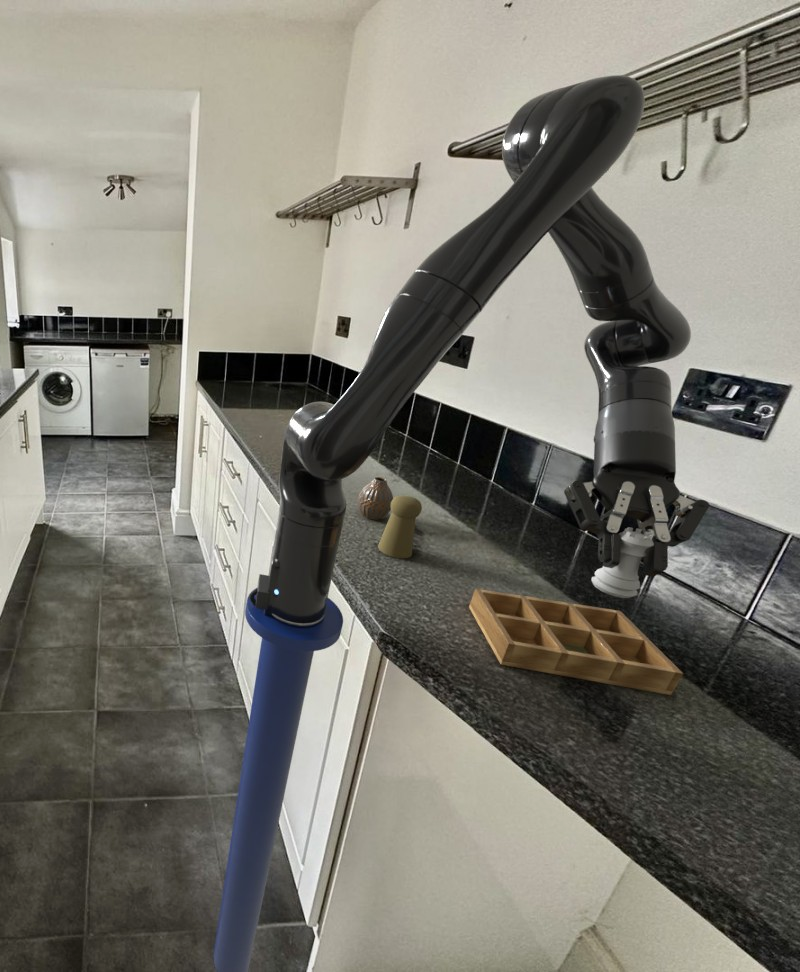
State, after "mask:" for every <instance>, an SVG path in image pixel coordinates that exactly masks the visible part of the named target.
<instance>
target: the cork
mask: <svg viewBox="0 0 800 972" xmlns="http://www.w3.org/2000/svg"><path fill="white" fill-rule="evenodd" d="M422 505H423V504H422V503H421V501H420V500H418V498H415V497H413V496H410V495H405V494H404V495H397V496H395V497H393V500H392V502H391V510H390V512H391V513H390V516H389V518H388V520H387V523H386V526H385V528H384V531H383V533H382V535H381V538H380V540H379V543H378V544H377V548H378V550H379V551H380V552H381V553H383V554H384V555H386V556H389V557H391V558H395V559H408V558H411V557H412V556H413V547H414V539H415V529H416V521H417V520H416V518H417V517H419V516H420V514H421V513H422V509H423V506H422Z"/></svg>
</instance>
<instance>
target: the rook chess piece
mask: <svg viewBox="0 0 800 972" xmlns="http://www.w3.org/2000/svg"><path fill="white" fill-rule="evenodd" d="M633 530H634V528H633V527H629V526H628V527H627V528H626V527H625V528H624V530H623V531H622V532H620V533H617V535H620V563H619V565H618V566H616V567H614V568H607V567H604V566H603V565H602V567H600V568H597V569H596V571H594V576H591V580H590V581H591V583H592V585H593V586H594V587H595V588H596V589H598V590H599V591H601V592H602V593H604V594H607V595H609V596H612V597H616V598H621V599H630V598H632V597H636V596H638V593H639V592H638V590H639V589H640V588H641V582H640V580H639V579H640V577H639V575H638V573H639V568H640V564H641V562H642V560H643V558H644V556H646V553H645V550H646V549H647V548H649V547H651V546H654V543H653V541H652V538H653V535H651V533H649V532H645V533H644V534H643V531H642V530H641V529H639V528H636V529H635V530H634V531H633Z"/></svg>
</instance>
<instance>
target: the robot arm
mask: <svg viewBox="0 0 800 972" xmlns="http://www.w3.org/2000/svg"><path fill="white" fill-rule="evenodd" d="M645 100H646V99H645V91H644V88H643V85H642V84H641V83H640V82H639V81H637V79H636V78H634V77H631V76H628V75H621V74H620V75H619V74H617V75H615V74H614V75H607V76H606V75H605V76H600V77H595V78H591V79H587V80H584V81H581V82H578V83H574V84H571V85H567V86H563V87H559V88H555V89H554V90H551V91H546V92H543V93H541V94H540V95H537V96H535V97H533V98H531V99H530V100H528V101H527V102H526V103H524V104H522V106H521V107H520V108H519V109H518V110H517V111H516V112H515V113H514V115H513V116H512V118H511V119H510V120H509V123H508V125H507V127H506V128H505V132H504V134H503V138H502V144H501V156H502V162H503V165H504V168H505V170H506V172H507V174H508V176H509V178H510V179H511V181H512V182H513V184H512V185H510V187H509V188H508V189H507V190H506V192H504V194H502V195H501V197H500V198H498V200H496V201H495V202H494V203H493V204H492V205H491V206H490V207H488V208H487V209H486V210H484V211H483V212H482V213H481V214H480V215H478V216H477V217H476V218H475V219H473V220H472V221H470V223H468V224H467V225H465V226H464V227H463V228H461V229H460V230H458V231H457V232H456V233H454V234H453V235H452V236H451V237H450V238H448V239H447V240H445V241H444V242H443V243H442V244H441V245H439V246H438V247H437V248H436V249H434V250H433V252H431V253H430V254H429V255H428V256H427V257H426V258H425V259H424V260H422V262H421V263H420V264H419V265H418V266H417V268H416V269H415V270H414V272H413V273H412V274H411V275H410V277H409V278H408V279H407V280H406V282H405V283H404V285H403V286H402V287H401V289H400V290H399V292H398V293H397V294H396V295H395V296H394V298H393V299H392V301H391V302H390V304H389V305H388V307H387V308H386V310H385V312H384V314H383V316H382V317H381V320H380V322H379V325H378V328H377V330H376V333H375V335H374V339H373V342H372V345H371V348H370V351H369V353H368V356H367V359H366V360H365V363H364V365H363V367H362V368H361V370H360V372H359V373H358V375H357V377H356V378H355V379H354V381H353V382H352V383H351V385H350V386H349V387H348V388H347V390H346V391H345V392H344V393H343V394H342V396H341V397H340V398H339V399H338V400H337V401H336V403H335V404H333V403H330V402H327V401H313V402H310V403H307V404H305V405H303V406H301V407H300V408H299V409H297V411H295V412H294V413H293V415H292V416H291V418H290V419H289V421H288V423H287V426H286V428H285V432H284V436H283V442H282V448H281V449H282V450H281V459H280V467H279V468H280V469H279V476H278V491H279V497H280V498H279V507H278V508H279V509H278V515H277V521H276V528H275V534H274V540H273V541H274V542H273V545H272V549H271V556H270V560H269V568H268V574H262V573H259V574H258V581H257V587H256V588H257V589H256V588H254V589H255V590H254V589H253V590H251V592H250V593H249V594H250V600H251V602H252V603H253V605H254V606H256V608H262V609H264V615H265V616H270V617H272V618H274V619H275V620H277V621H279V622H280V623H283V624H285V625H288V626H292V627H298V628H308V627H313V626H316V625H318V624H320V623H321V622H322V621H323V619H324V616H325V609H326V603H327V598H329V592H330V588H331V584H332V578H333V573H334V569H335V564H336V560H337V554H338V550H339V544H340V540H341V535H342V530H343V525H344V521H345V516H346V511H347V500H346V496H345V493H344V489H343V484H342V480H343V479H345V478H348V477H349V476H350V475H351V476H352V474H353V473H355V472H356V471H357V470H359V468H361V466H362V465H363V464H364V463H365V462H366V461H367V459H368V458H369V456H370V455H372V452H373V451H374V450H375V448H376V446H377V445H378V444H379V442H380V441H381V439H382V438H383V436H384V435H385V433H386V432H387V430H388V428H390V425H391V424H392V422H393V421H394V420H395V418H396V417H397V415H398V414H399V412H400V411H401V409H402V408H403V407H404V406H405V404H406V403H407V402H408V400H409V399H410V397H411V396H412V395H413V394H414V393H415V392H416V391H417V389H418V388H419V387H420V386H421V384H422V383H423V382H424V380H425V379H427V377H428V375H429V374H430V373H431V372H432V371H433V369H434V368H435V367H436V366H437V364H438V363H439V362H440V361H441V359H442V358H443V357H444V356H445V355H446V353H447V352H448V351H449V350H450V349H451V348H452V346H454V344H455V343H456V342H457V341H458V340H459V339H460V337H462V335H463V334H464V333H465V331H467V329H468V328H469V327H470V326H471V324H473V322H474V321H475V319H476V318H477V317H478V316H479V315H480V313H481V312H482V311H483V310H484V309H485V307H486V306H487V304H488V303H489V302H490V300H491V299H492V298H493V297H494V296H495V294H496V293H497V291H498V290H499V289H500V288H501V287H502V286H503V284H504V283H505V282H506V281H507V280H508V279H509V277H510V276H511V275H512V274H513V273H514V272H515V271H516V270H517V268H518V267H519V266H520V265H521V264H522V262H523V261H524V260H525V259H526V258H527V257H528V256H529V255H530V253H531V252H532V251H533V250H534V249H535V247H536V246H537V245H538V244H539V243H540V241H541V240H542V239H543V238H544V237H545V236H546V235H547V234H549V236H550V237H551V239H552V241H553V242H554V244H555V245H556V247H557V249H558V250H559V252H560V254H561V256H562V258H563V259H564V261H565V263H566V265H567V267H568V270H569V272H570V274H571V277H572V280H573V282H574V284H575V287H576V290H577V292H578V294H579V297H580V300H581V302H582V305H583V307H584V310H585V312H586V314H587V316H589V317H590V318H591V319H593V320H595V321H599V322H603V323H601V324H600V323H599V324H598V325H596V326H595V327H593V328H592V329H590V331H588V334H587V335H586V337H585V339H584V341H583V351H584V354H585V357H586V359H587V362H588V363H589V365H590V367H591V369H592V372H593V374H594V377H595V380H596V384H597V389H598V390H597V391H598V405H597V407H598V408H597V419H596V424H595V429H594V436H593V443H594V446H593V447H594V449H593V451H594V452H593V453H594V454H593V477H592V479H591V480H590V481H586V482H583V481H581V480H574V481H573V482H571V483H570V484H569V485H568V486H567V487H566V488H565V489H564V490H563V494H564V496H565V498H566V500H567V503H568V504H569V507H570V509H571V511H572V513H573V516H574V518H575V520H576V522H577V524H578V526H579V528H580V530H582V531H584V532H591V533H592V534H595V535H596V536H597V539H598V542H597V558H598V560H599V562H601V563H602V567H603V566H604V567H607V568H614V567H616V566H618V565H619V563H620V535H618V532H619V531H620V528H621V525H622V523H623V519H624V518H625V517H628V518H631V519H633V520H636V522H637V525H638V529H641V530H642V531H641V532H642V534H644V533H645V532H649V533H651V535H653V538H652V541H653V543H654V546H651V547H649V548H647V549H646V550H645V553H646V556H644V557H643V576H648V577H651V578H652V577H655V576H658V575H660V574H661V573H662V572H664V571H666V570H667V568H668V567H669V558H668V557H669V555H668V554H669V551H668V548H669V547H671V548H674V547H676V546H678V545H680V544H681V543H685V542H687V541H690V539H691V538H692V536H693V534H694V533H695V531H696V529H697V527H698V526H699V525H700V523H701V521H702V520H703V518H704V516H705V514H706V513H707V511H708V509H709V508H710V503H709V502H708V501H707V500H705V499H698V500H696V501H695V500H693V499H691V498H688V497H686V496H683V495H682V494H681V491H680V489H679V488H678V487H677V485H676V481H675V479H676V473H677V467H676V466H677V464H676V463H677V461H676V459H677V458H676V427H675V426H676V425H675V421H674V416H673V411H672V408H673V407H672V382H671V378H670V375H669V374H668V373H667V372H666V371H665V370H663V369H661V368H657V367H655V366H646V365H649V364H655V363H660V362H665V361H670V360H672V359H675V358H677V357H678V356H680V355H681V354H682V353H683V352H684V351H685V350H686V349H687V348H688V346H689V344H690V341H691V338H692V331H691V326H690V323H689V322H688V319H687V318H686V316H685V315H684V314H683V313H682V312H681V310H680V309H679V308H678V307H677V306H676V305H675V304H674V303H672V302H671V301H670V300H669V299H668V297H666V295H665V294H664V293H663V292H662V291H661V289H660V288H659V287H658V285H657V283H656V281H655V277H654V274H653V272H652V268H651V265H650V261H649V259H648V255H647V253H646V250H645V248H644V245H643V243H642V242H641V240H640V238H639V237H638V235H637V234H636V233H635V232H634V230H633V229H632V228H631V227H630V226H629V225H628V224H627V223H626V222H625V221H624V220H623V219H622V218H621V217H620V216H619V215H618V214H617V213H615V212H614V211H613V210H612V209H611V208H610V206H608V205H607V204H606V203H605V201H603V200H602V198H601V197H600V196H599V195H598V194H597V192H596V191H595V190H594V188H593V187H594V185H595V184H596V183H598V182H599V180H600V179H601V178H602V177H603V176H604V175H605V174H606V173H607V172H608V171H609V170H610V169H611V168H612V167H613V165H614V164H615V163H616V162H617V161H618V160H619V158H620V157H621V156H622V155H623V153H624V152H625V151H626V149H627V148H628V146H629V144H630V143H631V141H632V140H633V138H634V136H635V135H636V132H637V130H638V128H639V127H640V123H641V121H642V117H643V114H644V111H645V103H646V101H645ZM593 495H594V496H595V498H596V499H597V500H598V502H600V504H601V505H602V506H603V507H602V510H601V513H600V515H599V512H598V511H597V509H596V507H595V505H594V502H593V501H592V498H591V497H592V496H593ZM671 505H673V506H674V508H675V509H674V512H675V513H674V516H677V518H676V520H675V521H674V523H673V525H672V526H671V527H670V530H669V527H668V524H669V516H668V512H667V509H668V508H669V507H670V506H671ZM256 594H257V597H256V600H255V598H254V596H255V595H256Z"/></svg>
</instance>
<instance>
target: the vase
mask: <svg viewBox="0 0 800 972" xmlns="http://www.w3.org/2000/svg"><path fill="white" fill-rule="evenodd" d="M393 499H394V496H393V492H392V489H391V488H390V486H389V485H388V482H387V479H386V478H384V477H381V476H376V477H373V479H372V480H371V481H370V482H369V483H367V484H366V485H365V486H363V488H362V489H361V491H360V492H359V494H358V498H357V509H358V510H359V512H360V514H361V515H362V516H363V517H364V518H366V519H369V520H375V521H377V520H382V519H384V518H385V517H387V516H388V515H389V513H390V512H391V502H392V500H393Z"/></svg>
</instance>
